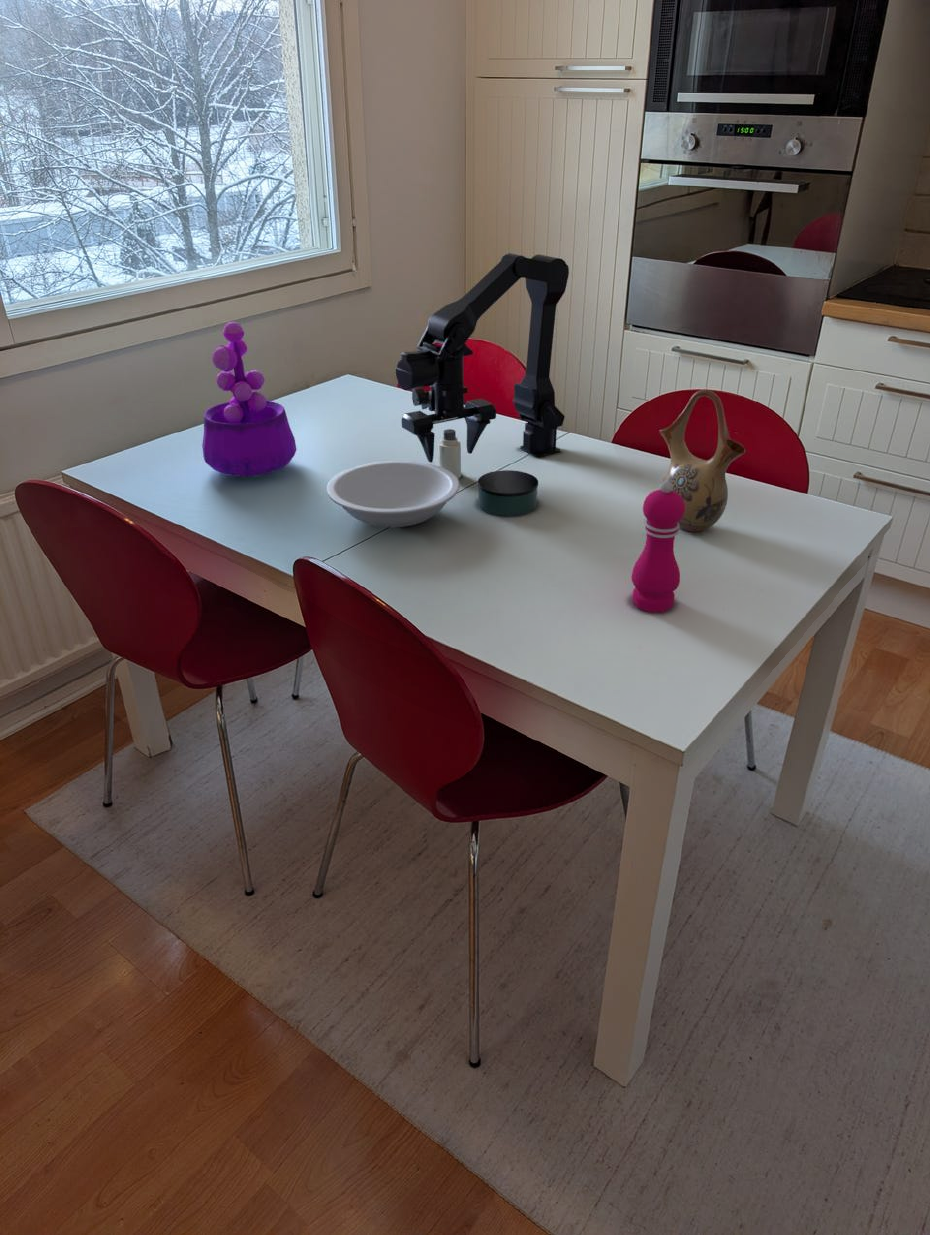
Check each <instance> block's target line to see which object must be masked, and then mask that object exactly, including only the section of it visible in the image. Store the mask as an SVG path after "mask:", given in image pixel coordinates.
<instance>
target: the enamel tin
mask: <svg viewBox="0 0 930 1235" xmlns="http://www.w3.org/2000/svg"><path fill="white" fill-rule="evenodd" d="M477 487H478V506H479V508H480V509H481V511H483V512H485V513H487V514H490V515H494V516H499V517H500V516H501V517H517V516H522V515H526V514H529V513H531V512H533V511H534V510H536V507H537V500H538V487H539V479H538V478H537V477H536V476H535V475H533V474H531V473H528V472H524V471H519V470H510V469H508V470H507V469H505V470H495V471H490V472H487V473H484V474H483V475H481V476H480V477H479V478H478V480H477Z"/></svg>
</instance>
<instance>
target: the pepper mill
mask: <svg viewBox="0 0 930 1235" xmlns="http://www.w3.org/2000/svg"><path fill="white" fill-rule="evenodd" d="M672 489H673V485H672V483H671V482H669V481H664V482H663V481H662V482H661V483H660V485H659V489H655V490H653V491H651V492H650V493H649V494H648V495H647V496H646V497H645V498H644V501H643V505H642V513H643V516H644V518H646V519H645V520H644V527H643V531H644V532H645V534H646V538H645V539H646V540H645V545H644V548H643V550H642V552H641V553H640V555H639V557H638V558H637V560H636V561H635V564H634V566H633V568H632V571H631V577H630V579H631V582H632V585H633V587H634V588H633V589H632V590H633V591H632V599H631V601H632V604H633V605H634V606H635V607H636V608H637V609H638V610H641V611H644V612H647V613H664V612H667V611H670V610H671V608H673V607H674V604H675V591H676V590H677V589H678V587H679V586H680V583H681V572H680V567H679V565H678V562H677V559H676V556H675V551H674V548H675V547H674V546H675V545H674V544H675V539H676V536H677V535H678V534H679V533H680V528H679V526H680V525H679V521H680V520H681V519H682V518H683V516H684V513H685V503H684V500H683V498H682V497H681V496H680V495H679V494H678V493H677V492H675V491H672Z"/></svg>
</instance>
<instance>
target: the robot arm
mask: <svg viewBox="0 0 930 1235" xmlns="http://www.w3.org/2000/svg"><path fill="white" fill-rule="evenodd" d="M569 276H570V267H569V265H568V264H567V262H566V261H565V260H564V259H563V258H559V257H554V256H550V255H544V254H535V255H533V256H532V257H531V258H530V257H526V256H524V255H522V254H517V253H511V252H509V253H506V254H504V255H503V256H502V257H501V258H500V260H499V262H498V263H497V264H496V265H494V267H493V268H492V269H491V270H490V271H489V272H487V274H485V276H483V277H482V278H481V279H480V280H479V281H478V282H477V283H475V285H473V287H472V288H471V289H470V290H469V291H468V292H467V293H465V295H463V297H461V298H459V299H458V300H457V301H454V302H451V303H448V304H446V305H444V306H443V307H441V308H440V309H438V310H436V311H435V312H433V313H432V315H431V316H430V317H429V319H428V320H427V327H426V328H425V330H424V332H423V334H422V336H421V338H420V340H419V342H418V344H417V346H416V350H414V351H403V352H401V359H399V360H398V362H397V365H396V367H395V375H396V377H395V378H396V380H397V383H398V384H399V387H400V388H401V389H403V390H404V391H411V395H412V396H411V399H412V404H413V406H414V407H418V406H421V410H427V409H428V411H430V412H434V413H430V414H427V413H425V412H423V411H421V410H416V411H411V412H406V413H404V414H403V415H402V417H401V428H402V429H403V430H406V431H407V432H409V433H410V434H412V435H415V436H416V437H417V439H418V441H419V442H420V444H421V447H422V449H423V451H424V454H425V456H426V459H427V461H428V463H429V464H432V463H433V462H434V453H435V435H436V434H435V432H433V429H434V425H436V424H442V423H447V422H451V421H456V420H461V419H464V421H465V424H466V452H467V454H469V455H471V454H472V453H473V452H474V450H475V448H476V445H477V443H478V441H479V440H480V437H481V435H482V434H483V432H484V431H485V429H486V427H487V426H488V425H490V424H491V422H492V420H496V419H497V408H496V406H495V405H494V404H493V403H491V402H490V401H487V400H485V399H483V398H477V399H471V400H467V401H466V402H465V394H468V387H467V386H465V385H464V383H465V382H464V377H465V376H464V375H465V374H464V370H465V369H464V357H468V356H472V355H473V354H474V351H473V350H472V349H471V348H470V347H469V346H468V345H467V344H466V342H467V341H468V340H469V339H470V337H471V336H472V334H473V333H474V332H475V330H476V327H477V324H478V321H479V319H480V318H481V317H482V316H483V315H484V314H485V313H486V312H487V311H488V310H489V309H490V308H491V307H492V306H494V304H495V303H497V301H498V300H500V298H502V296H503V295H504V294H506V293H507V291H509V290H510V289H511V288H512V287H513V286H514V285H515V284H516V283H517V282H518V281H519V280H521V279H525V288H526V291H527V295H528V296H529V299H530V302H531V308H530V317H529V318H530V319H529V331H528V341H527V342H528V343H527V345H528V346H527V356H526V364H525V365H526V367H525V374H524V376H523V378H522V379H521V381H520V382H515V383H514V386H513V389H514V390H513V397H512V403H514V409H515V411H517V413H518V415H519V418H520V421H524V422H526V423H524V430H523V436H522V438H523V439H522V445H520V450H522V451H524V452H526V453H528V454H530V455H531V456H533V457H536V458H540V457H544V456H547V455H552V454H556V453H560V452H561V448H559V447H557V435H558V434H557V433H558V432H557V431H558V429H559V427H563V424H564V421H565V418H566V416H565V415H564V414H563V413H562V411H560V409H559V408H558V407H557V406H556V392H555V389H554V386H553V383H552V380H551V377H550V373H551V363H552V353H553V343H554V333H555V332H554V331H555V324H556V322H555V321H556V312H557V305H558V303H559V302H560V300H561V298H562V297H563V296H564V294H565V293H566V289H567V284H568V280H569ZM435 343H438V344H440V345H438V344H435ZM426 387H429V391H425V389H424V388H426Z"/></svg>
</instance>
